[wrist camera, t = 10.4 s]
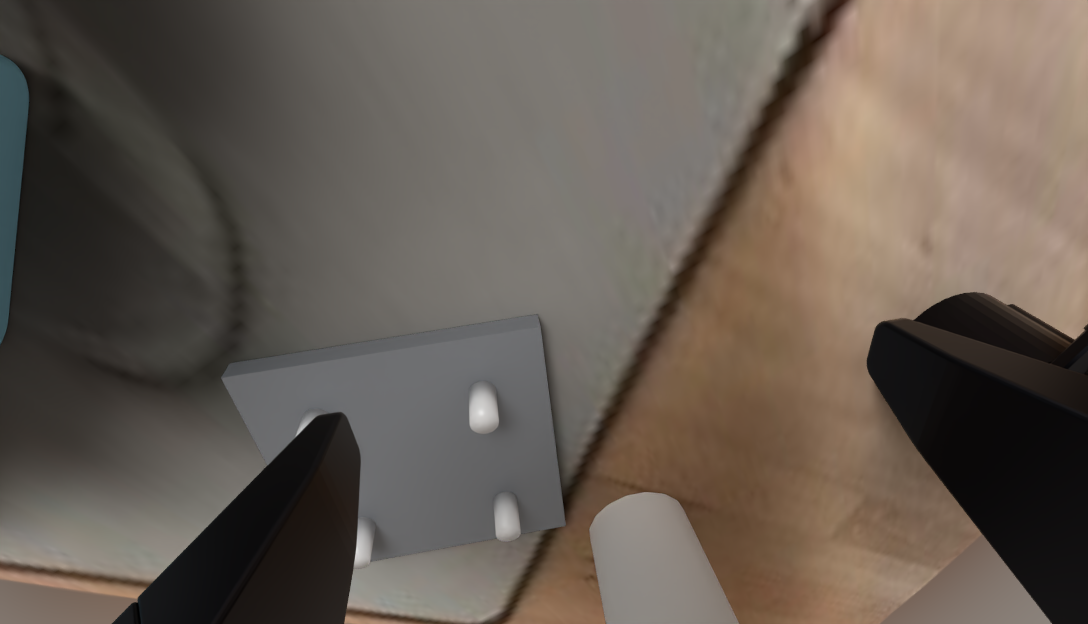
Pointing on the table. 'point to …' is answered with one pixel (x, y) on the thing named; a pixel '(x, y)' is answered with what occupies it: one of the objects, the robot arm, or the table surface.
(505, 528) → the pin tray
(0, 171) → the data package
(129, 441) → the table surface
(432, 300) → the table surface
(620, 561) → the white cup
